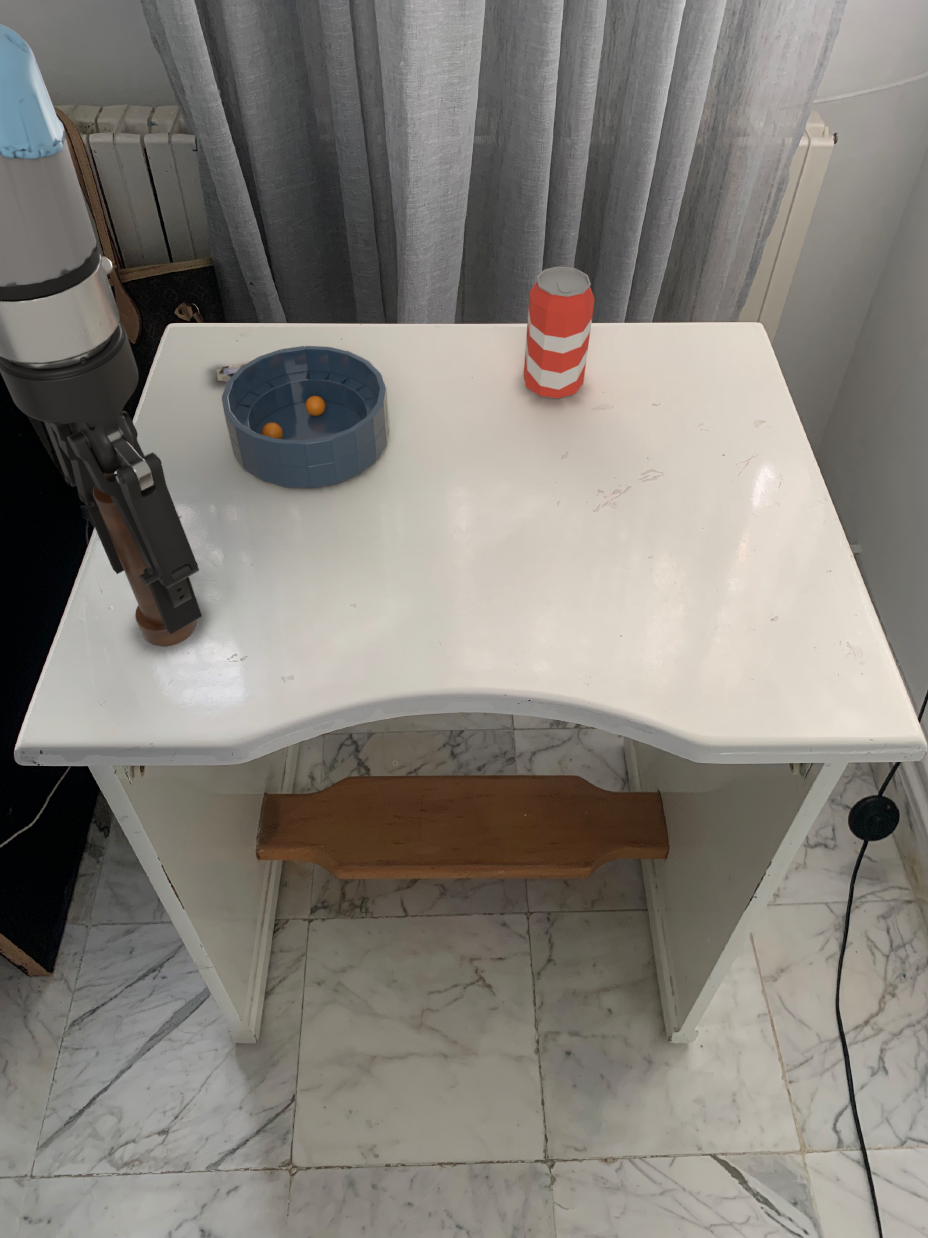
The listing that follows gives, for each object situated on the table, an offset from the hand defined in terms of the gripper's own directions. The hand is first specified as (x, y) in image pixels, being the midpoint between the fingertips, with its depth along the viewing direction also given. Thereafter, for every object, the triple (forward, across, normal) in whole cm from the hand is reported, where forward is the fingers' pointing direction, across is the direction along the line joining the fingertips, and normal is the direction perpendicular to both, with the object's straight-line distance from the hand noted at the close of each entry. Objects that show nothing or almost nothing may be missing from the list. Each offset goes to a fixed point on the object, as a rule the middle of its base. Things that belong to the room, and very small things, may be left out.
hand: (156, 591), depth 70 cm
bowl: (+4, +11, -23) cm, 26 cm away
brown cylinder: (+4, 0, 0) cm, 4 cm away
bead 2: (+2, +14, -25) cm, 29 cm away
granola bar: (+5, +25, -24) cm, 35 cm away
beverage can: (+4, +2, -47) cm, 48 cm away
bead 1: (+2, +13, -19) cm, 24 cm away
